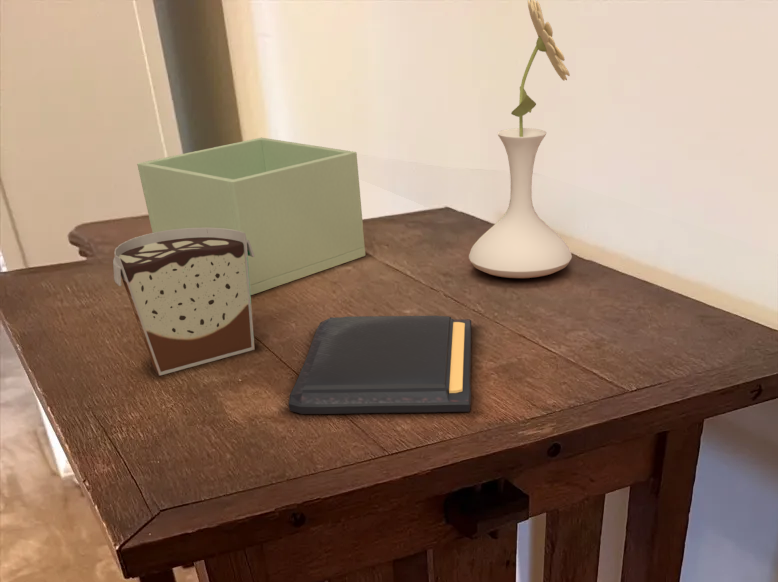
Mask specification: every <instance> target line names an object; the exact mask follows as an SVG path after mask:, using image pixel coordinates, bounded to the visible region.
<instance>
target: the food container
mask: <svg viewBox="0 0 778 582" xmlns="http://www.w3.org/2000/svg"><path fill="white" fill-rule="evenodd" d="M248 256H251V257H255V256H254V253H253V250H252V247H251V244H250V241H249V240H247V239H246V234H245V233H243V232H241V231H236V230H231V229H223V228H184V229H174V230H166V231H160V232H155V233H152V232H150V233H145V234H142V235H138V236H136V237H133V238H130V239H128V240H126V241H123V242H121V243H119V245H117V246H116V247H115V249H114V257H113V259H112V266H113V267H112V268H113V281H114V282H115V284H116V285H117V286H119V287H122V283H123V285H124V288H125V291H126V294H127V297H128V300H129V302H130V305H131V309H132V311H133V313H134V317H135V319H136V322H137V326H138V328H139V330H140V334H141V336H142V339H143V342H144V345H145V348H146V350H147V353H148V356H149V359H150V362H151V365H152V367H153V370H154V373H155V374H157V376H158V377H159V376H163V375H167V374H171V373H175V372H178V371H181V370H185V369H189V368H193V367H196V366H199V365H204V364H207V363H210V362H211V363H212V362H215V361H218V360H221V359H226V358H228V357H229V358H230V357H233V356H236V355H241V354H244V353H248V352H251V351H255V350H256V349H255V336H254V322H253V309H252V295H251V293H250V279H249V266H248Z"/></svg>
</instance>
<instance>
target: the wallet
mask: <svg viewBox="0 0 778 582" xmlns="http://www.w3.org/2000/svg"><path fill="white" fill-rule="evenodd" d="M471 358H472V319H468V318H467V319H461V318H460V319H454V318H452V316H448V315H370V316H369V315H367V316H366V315H365V316H364V315H363V316H359V315H356V316H355V315H354V316H341V317H340V316H338V317H337V316H336V317H333V316H332V317H329V318H327V319H325V320H322V321H321V322H319V324H318V326H317V328H316V331H315V332H314V335H313V338H312V341H311V343H310V346H309V349H308V352H307V355H306V357H305V360H304V363H303V365H302V367H301V370H300V372H299V374H298V376H297V379H296V381H295V383H294V386H293V388H292V390H291V392H290V394H289V398H288V408H289V411H291V412H294V413H296V414H301V415H353V414H354V415H355V414H356V415H357V414H358V415H359V414H428V413H430V414H432V413H436V414H437V413H470V412H471V407H472V387H471V375H472V372H471V370H472V369H471V368H472V366H471V365H472V359H471Z"/></svg>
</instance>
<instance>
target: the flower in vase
mask: <svg viewBox="0 0 778 582" xmlns="http://www.w3.org/2000/svg"><path fill="white" fill-rule="evenodd" d="M527 7H528V13H529V16H530V19H531V22H532V26H533V27H534V30H535V32H536V34H537V38H536V42H535V47H534V48H533V51H532V53H531V56H530V57H529V60H528V63H527V64H526V67H525V70H524V72H523V76H522V79H521V83H520V86H519V101H518V102H519V103H518V105H517V106H516V107H515V108H514V109H513V110H512V111H511V113H510V114H511V115H513V116H515V117H517V118H518V119H519V122H518V123H519V125H518V126H519V127H518V128H517V127H515V128H508V129H502V130H498V132H497V136H498V138H499V139H500V141H501V142H502V144H503V147H504V149H505V153H506V156H507V160H508V161H507V162H508V165H509V176H510V197H509V204H508V207H507V209H506V212H505V213H504V214H503V215H502V217H501V218H500V219H498V221H497V222H496V223H494V224H493V225H492V226H491V227H490V228H489V229H487V231H485V232H484V233H483V234H482V235H481V236H480V237H479V238H478V239H476V240H477V241H475V243H474V244H473V245H472V246H471V249H470V251H469V254H468V260H469V262H470V263H471V265H472V266H473V267H474V268H475V269H477V270H479V271H481V272H483V273H485V274H488V275H490V276H495V277H499V278H500V277H501V278H506V279H530V278H531V279H532V278H540V277H545V276H548V275H552V274H554V273H557V272H559V271H561V270H563V269H565V268H566V267H567V266H568V265H569V264H570V262H571V260H572V258H573V255H572V252H571V249H570V246H569V245H568V244H567V243H566V241H565V240H564V238H563V237H562V236H561V235H559V234H558V232H556V231H555V230H554V229H553V228H552V227H550V226H549V224H547V223H546V222H545V221H544V220H543V219H541V217H540V216H539V215H538V213H537V212H536V210H535V208H534V204H533V195H532V191H533V190H532V189H533V188H532V187H533V172H534V165H535V161H536V156H537V153H538V150H539V147H540V145H541V143H542V142H543V140H544V138H545V137H546V135H547V131H546V130H543V129H539V128H532V127H531V128H530V127H524V124H523V123H524V121H523V118H524V117H523V116H526V115H527V114H528V113H532V110H533V109H534V108H536V106H537V103H536V101H534V100H533V99H532V98H531V97H530V96H529V95H528V94H527V91H526V89H525V85H526V80H527V77H528V74H529V72H530V69H531V66H532V65H533V62H534V60H535V57H536V56H537V53H538V51H539V52H543V53H545V55H546V56H547V58H548V60H549V62H550V64H551V65H552V67H553V69H554V71H555V72H556V74H557V75H558V76H559V78H560V79H561V80H562V81H568V77H571V74H570V71H569V70H568V69H567V66H566V65H565V63H564V62H565V56H564V53H563V52H562V51H561V49H560V48H559V46H557V45H556V42H555V40H554V38H553V36H554V35H553V33H554V32H553V28H552V26H551V23H550V22H549V21H546V22H545V20H544V16H543V12H542V11H543V10H542V8H541V5H540V2H539V1H538V0H527ZM567 76H568V77H567Z"/></svg>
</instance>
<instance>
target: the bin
mask: <svg viewBox="0 0 778 582" xmlns="http://www.w3.org/2000/svg"><path fill="white" fill-rule="evenodd" d="M357 153H358V152H356V151H353V150H352V151H351V150H345V149H340V148H333V147H326V146H320V145H312V144H306V143H299V142H293V141H287V140H281V139H280V140H279V139H273V138H267V137H257V138H252V139H247V140H243V141H238V142H234V143H229V144H224V145H219V146H214V147H209V148H205V149H200V150H195V151H190V152H186V153H185V152H184V153H181V154H180V153H179V154H175V155H171V156H166V157H161V158H157V159H152V160H147V161H142V162H138V163H137V164H136V165H137V170H138V174H139V178H140V179H139V180H140V183H141V187H142V192H143V196H144V201H145V204H146V210H147V215H148V219H149V222H150V228H151V233H155V232H160V231H166V230H174V229H184V228H223V229H231V230H236V231H241V232H243V233H245V234H246V239H247V240H249V241H250V244H251V247H252V250H253V253H254V256H255V257H251V256H248V266H249V279H250V293H251V296H253V295H256V294H259V293H262V292H266V291H268V290H270V289H274V288H276V287H279V286H282V285H285V284H288V283H291V282H294V281H297V280H300V279H303V278H305V277H308V276H312V275H314V274H317V273H319V272H323V271H326V270H328V269H332V268H335V267H338V266H341V265H342V264H346V263H348V262H352V261H354V260H355V261H356V260H357V259H358V260H359V259H360V258H361V259H362V258H364V257H365V256H366V245H365V233H364V223H363V221H364V220H363V214H362V213H363V212H362V211H363V210H362V200H361V188H360V176H359V166H358V154H357Z"/></svg>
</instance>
